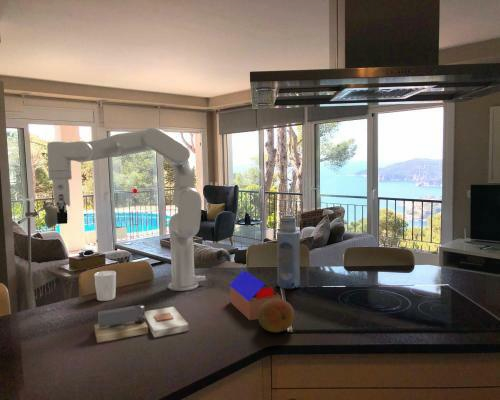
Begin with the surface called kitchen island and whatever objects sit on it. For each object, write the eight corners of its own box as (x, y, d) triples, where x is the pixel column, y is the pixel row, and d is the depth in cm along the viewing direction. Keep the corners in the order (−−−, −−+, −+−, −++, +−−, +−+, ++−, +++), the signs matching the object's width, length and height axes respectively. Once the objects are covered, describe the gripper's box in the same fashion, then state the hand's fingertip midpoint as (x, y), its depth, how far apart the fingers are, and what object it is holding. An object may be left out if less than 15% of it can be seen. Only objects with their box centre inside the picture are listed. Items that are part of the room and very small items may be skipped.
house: (259, 298, 150) (258, 268, 149) (282, 315, 132) (281, 281, 131) (229, 302, 146) (228, 271, 145) (249, 321, 127) (248, 286, 127)
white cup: (91, 300, 152) (89, 274, 151) (107, 294, 159) (105, 269, 158) (105, 302, 148) (104, 276, 147) (121, 296, 155) (120, 271, 154)
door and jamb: (173, 312, 136) (173, 305, 136) (188, 330, 120) (188, 322, 120) (93, 326, 125) (93, 318, 125) (98, 348, 109) (97, 339, 109)
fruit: (266, 341, 111) (265, 307, 111) (249, 326, 123) (248, 294, 122) (301, 334, 116) (301, 301, 115) (281, 319, 128) (281, 289, 127)
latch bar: (144, 318, 125) (143, 304, 124) (146, 322, 122) (145, 307, 121) (98, 326, 119) (97, 311, 119) (99, 330, 116) (98, 314, 116)
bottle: (274, 287, 163) (273, 216, 161) (281, 281, 172) (280, 213, 170) (296, 289, 159) (295, 216, 157) (302, 283, 169) (301, 213, 166)
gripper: (71, 175, 137) (74, 224, 138) (71, 175, 153) (73, 219, 154) (47, 176, 134) (50, 225, 135) (49, 176, 150) (52, 220, 151)
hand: (62, 222), depth 145 cm, fingers open, 9 cm apart
